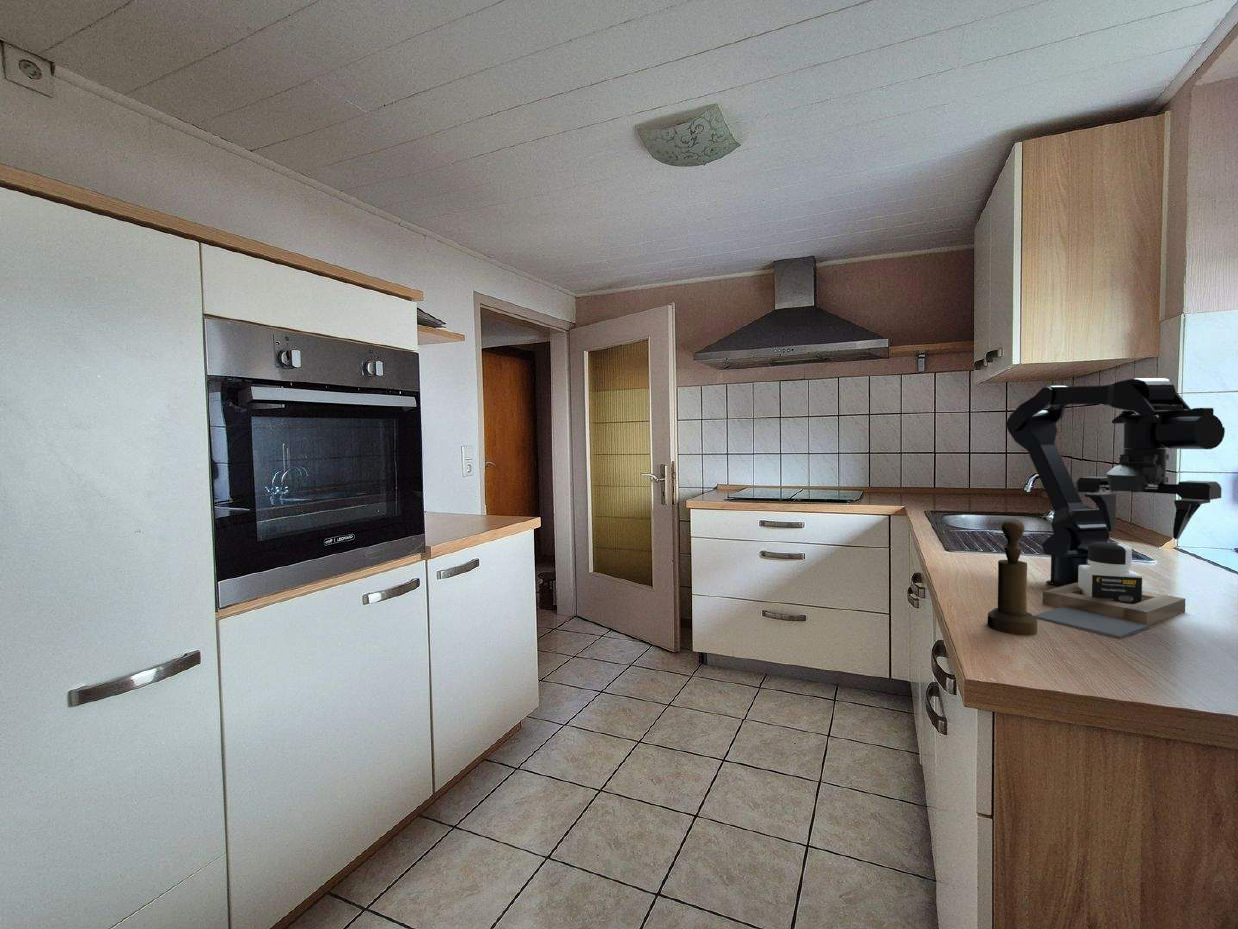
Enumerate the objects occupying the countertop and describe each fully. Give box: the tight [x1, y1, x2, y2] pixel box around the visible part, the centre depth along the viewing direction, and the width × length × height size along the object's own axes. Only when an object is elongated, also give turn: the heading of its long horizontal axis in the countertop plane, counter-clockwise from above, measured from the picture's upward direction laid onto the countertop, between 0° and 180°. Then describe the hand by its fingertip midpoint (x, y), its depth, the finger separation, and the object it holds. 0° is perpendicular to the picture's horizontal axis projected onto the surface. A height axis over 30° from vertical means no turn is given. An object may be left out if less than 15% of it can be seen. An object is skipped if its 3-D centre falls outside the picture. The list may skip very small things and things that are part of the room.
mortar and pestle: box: [986, 518, 1038, 636], centre depth 93 cm, size 7×6×18 cm
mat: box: [1032, 607, 1150, 640], centre depth 95 cm, size 12×10×1 cm
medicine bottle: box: [1078, 541, 1143, 605], centre depth 105 cm, size 7×7×12 cm
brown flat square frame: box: [1042, 582, 1186, 627], centre depth 103 cm, size 15×15×2 cm
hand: (1142, 535), depth 104 cm, fingers open, 9 cm apart
